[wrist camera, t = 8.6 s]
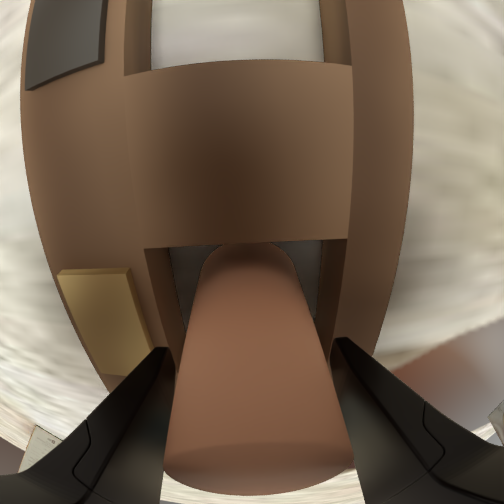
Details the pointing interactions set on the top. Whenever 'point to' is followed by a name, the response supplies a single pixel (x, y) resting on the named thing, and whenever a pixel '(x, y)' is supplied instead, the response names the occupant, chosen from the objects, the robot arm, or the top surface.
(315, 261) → the top surface
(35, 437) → the small box
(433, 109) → the top surface
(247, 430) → the plug
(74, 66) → the socket board
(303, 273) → the top surface
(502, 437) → the coffee box
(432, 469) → the robot arm
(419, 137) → the top surface
